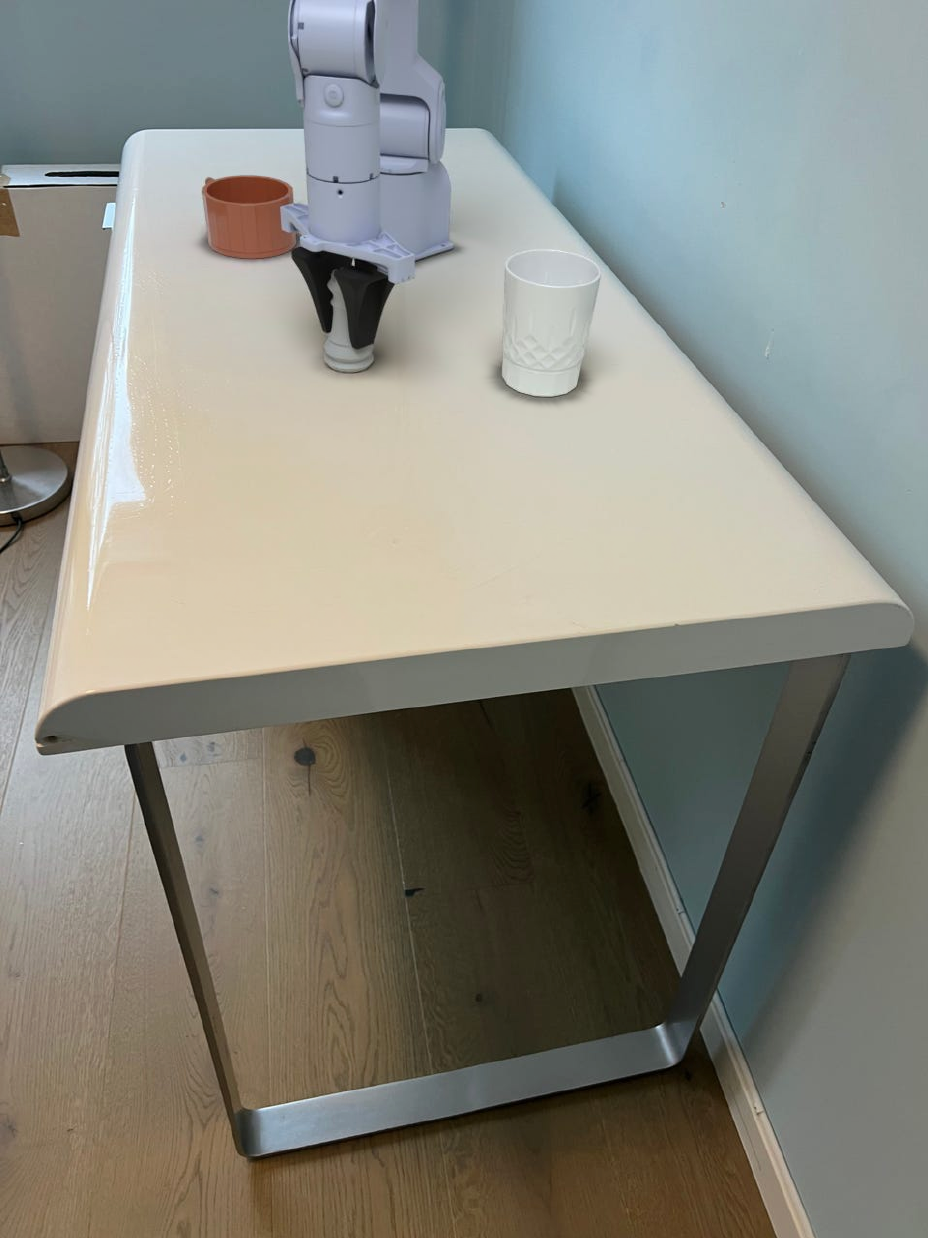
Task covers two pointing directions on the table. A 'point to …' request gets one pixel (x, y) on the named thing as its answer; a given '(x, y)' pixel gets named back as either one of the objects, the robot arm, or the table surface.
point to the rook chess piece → (343, 338)
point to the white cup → (547, 319)
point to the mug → (247, 216)
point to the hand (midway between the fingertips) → (348, 336)
